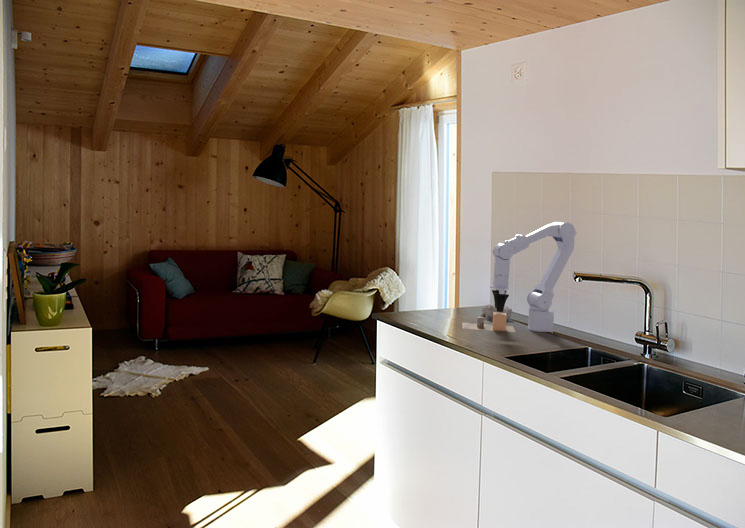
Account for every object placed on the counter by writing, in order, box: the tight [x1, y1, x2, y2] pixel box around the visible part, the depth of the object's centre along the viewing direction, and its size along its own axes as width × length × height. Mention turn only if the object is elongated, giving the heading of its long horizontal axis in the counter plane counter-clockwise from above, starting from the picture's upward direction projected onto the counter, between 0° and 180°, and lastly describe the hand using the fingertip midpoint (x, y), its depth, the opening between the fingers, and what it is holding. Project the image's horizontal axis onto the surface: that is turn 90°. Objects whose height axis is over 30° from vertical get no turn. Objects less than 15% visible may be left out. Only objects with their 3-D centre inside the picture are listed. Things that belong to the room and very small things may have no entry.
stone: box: [480, 304, 513, 322], centre depth 270 cm, size 8×12×7 cm, turn 104°
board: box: [461, 316, 516, 333], centre depth 250 cm, size 20×12×4 cm, turn 82°
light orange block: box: [491, 312, 507, 332], centre depth 247 cm, size 5×5×6 cm
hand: (498, 310), depth 246 cm, fingers open, 7 cm apart
